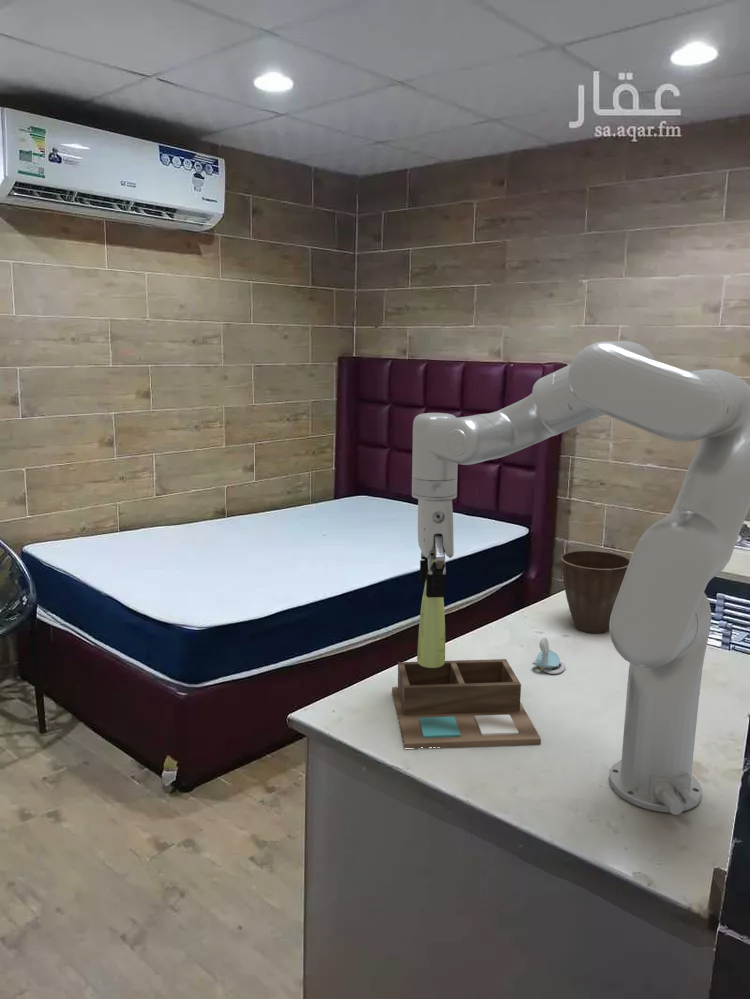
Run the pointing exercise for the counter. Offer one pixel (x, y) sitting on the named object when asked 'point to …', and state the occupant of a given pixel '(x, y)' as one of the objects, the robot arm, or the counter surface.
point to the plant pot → (592, 587)
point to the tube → (431, 632)
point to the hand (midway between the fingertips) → (432, 588)
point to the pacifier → (548, 659)
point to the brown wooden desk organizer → (461, 705)
